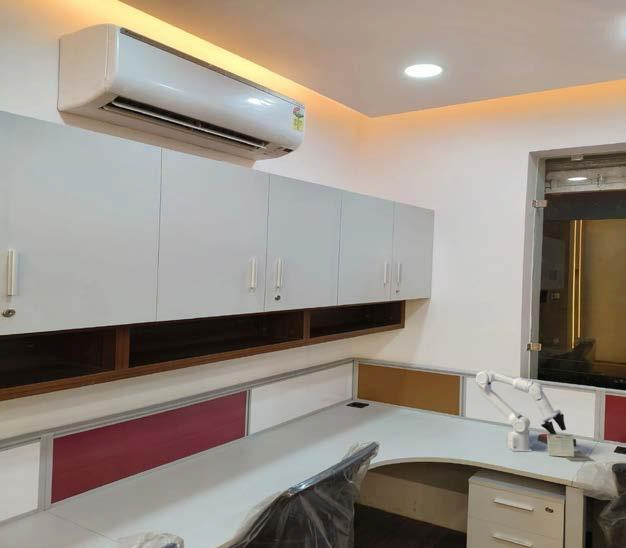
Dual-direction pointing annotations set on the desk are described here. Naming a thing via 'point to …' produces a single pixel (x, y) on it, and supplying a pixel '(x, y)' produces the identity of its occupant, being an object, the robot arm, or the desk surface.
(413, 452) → the desk surface
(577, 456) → the desk mat
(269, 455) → the desk surface
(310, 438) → the desk surface
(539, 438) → the red and black box
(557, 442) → the ink box
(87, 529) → the desk surface
